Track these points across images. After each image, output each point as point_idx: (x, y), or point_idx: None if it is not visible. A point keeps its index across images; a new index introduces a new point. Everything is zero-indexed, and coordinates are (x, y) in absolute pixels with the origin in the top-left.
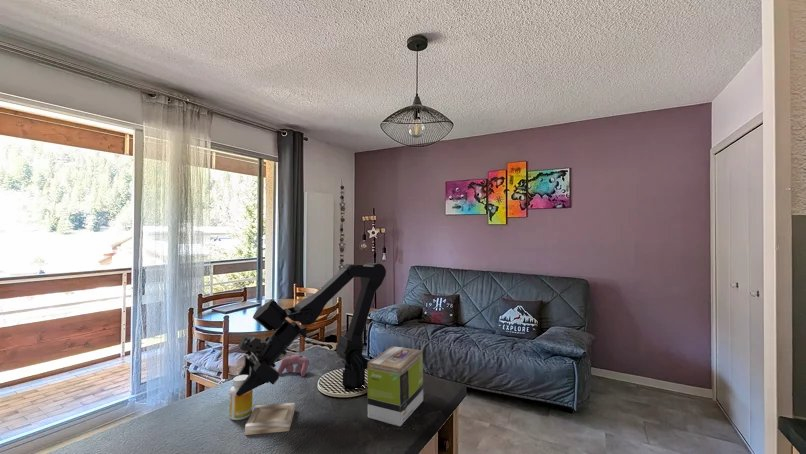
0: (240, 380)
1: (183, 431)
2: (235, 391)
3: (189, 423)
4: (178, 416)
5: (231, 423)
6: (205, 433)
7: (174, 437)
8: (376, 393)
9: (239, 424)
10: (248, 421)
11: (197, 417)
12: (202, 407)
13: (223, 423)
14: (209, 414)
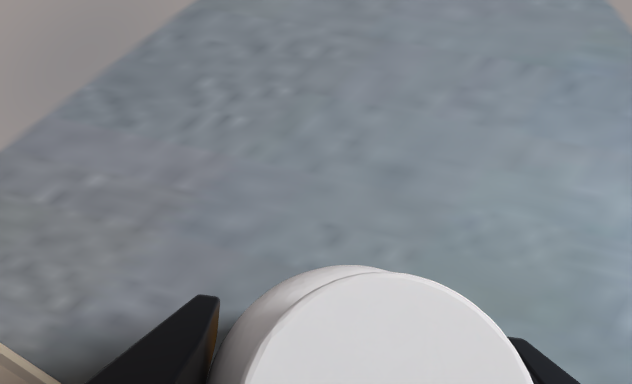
0: (260, 368)
1: (339, 60)
2: (264, 302)
3: (416, 100)
4: (543, 75)
5: (236, 301)
6: (225, 140)
7: (302, 18)
8: None
9: None
10: (2, 379)
11: (469, 149)
12: (600, 202)
13: (276, 256)
14: (469, 214)
